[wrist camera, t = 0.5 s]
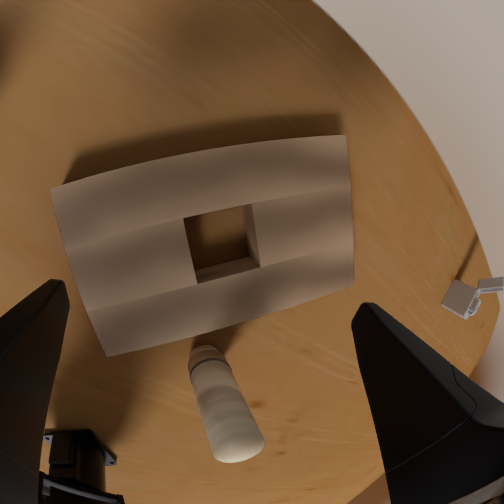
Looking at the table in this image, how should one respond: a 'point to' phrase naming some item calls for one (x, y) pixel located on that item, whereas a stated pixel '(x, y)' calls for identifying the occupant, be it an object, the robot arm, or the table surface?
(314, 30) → the table surface
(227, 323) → the board
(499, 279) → the lighter
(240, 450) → the dowel
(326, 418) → the table surface
